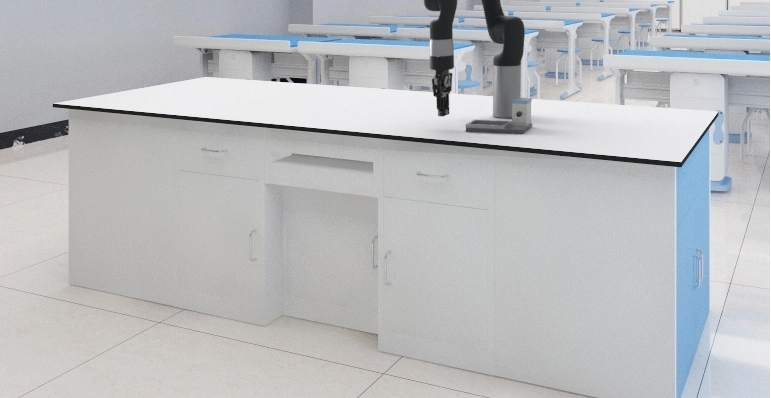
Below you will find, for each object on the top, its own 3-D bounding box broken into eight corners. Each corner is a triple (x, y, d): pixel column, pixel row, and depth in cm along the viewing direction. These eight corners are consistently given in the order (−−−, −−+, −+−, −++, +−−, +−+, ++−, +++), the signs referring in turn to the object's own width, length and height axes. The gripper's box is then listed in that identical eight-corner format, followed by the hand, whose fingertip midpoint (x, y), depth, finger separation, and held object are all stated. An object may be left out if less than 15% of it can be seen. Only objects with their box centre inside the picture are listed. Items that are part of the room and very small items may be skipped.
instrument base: (477, 124, 300) (477, 96, 298) (532, 126, 294) (532, 97, 292) (465, 131, 289) (465, 101, 286) (522, 134, 282) (523, 103, 280)
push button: (446, 117, 290) (446, 85, 287) (430, 117, 292) (429, 85, 289) (454, 114, 296) (453, 82, 293) (438, 113, 298) (437, 82, 295)
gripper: (437, 51, 297) (438, 103, 302) (422, 56, 284) (424, 111, 289) (459, 51, 294) (460, 104, 299) (446, 56, 282) (447, 112, 286)
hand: (443, 107), depth 294 cm, fingers closed on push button, 4 cm apart
